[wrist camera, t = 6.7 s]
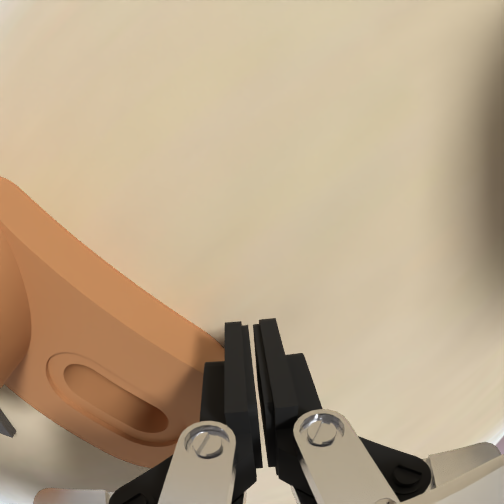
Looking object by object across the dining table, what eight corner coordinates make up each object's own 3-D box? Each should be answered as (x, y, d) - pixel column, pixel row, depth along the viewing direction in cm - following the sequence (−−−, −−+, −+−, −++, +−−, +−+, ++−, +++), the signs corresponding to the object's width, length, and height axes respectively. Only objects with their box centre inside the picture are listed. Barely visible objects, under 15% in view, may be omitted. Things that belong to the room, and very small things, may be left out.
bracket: (-54, 270, 10) (-126, 324, 4) (-23, 142, 9) (-134, 162, 2) (182, 447, 15) (174, 546, 8) (276, 371, 13) (304, 503, 7)
